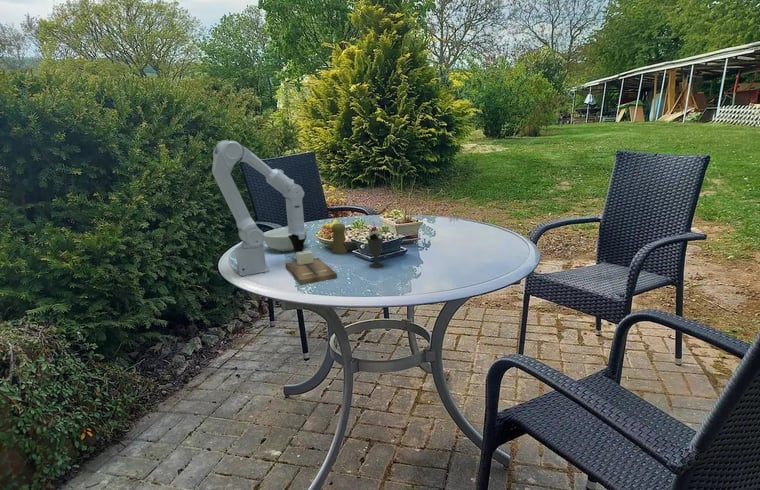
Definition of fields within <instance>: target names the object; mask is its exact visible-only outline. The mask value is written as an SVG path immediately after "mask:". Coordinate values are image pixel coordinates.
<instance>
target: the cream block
mask: <svg viewBox="0 0 760 490" xmlns="http://www.w3.org/2000/svg"><path fill="white" fill-rule="evenodd" d="M313 255H314V254H313V252H312V250H311V249H309V250H303V251H302V252H296V254H295V258H296V261H297V264H298V265H303V264H309V263H313V259H314V257H313Z"/></svg>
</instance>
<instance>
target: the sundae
mask: <svg viewBox="0 0 760 490" xmlns="http://www.w3.org/2000/svg"><path fill="white" fill-rule="evenodd" d="M372 224H373V227H371V230H370V231H369V233H368V235H367V236H366V237H365V238H364V240H367V245H368V251H369V253H370V254H371V256H373V257H374V258H373V259H374V260H373V263H370V264H369V265H368V266H369V267H370V268H372V269H380V268H383V267H384V264H383V263H380V262H379V259H378V257H379V256H380V255H381V254H382V253H383V252H382V251H383V242H384V240H385V239H386V236H384V235H383V234H381V233H380V232H379V230H378V229H377V228H376V227H375V226H376V225H375V222H374V221H373V222H372Z"/></svg>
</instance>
